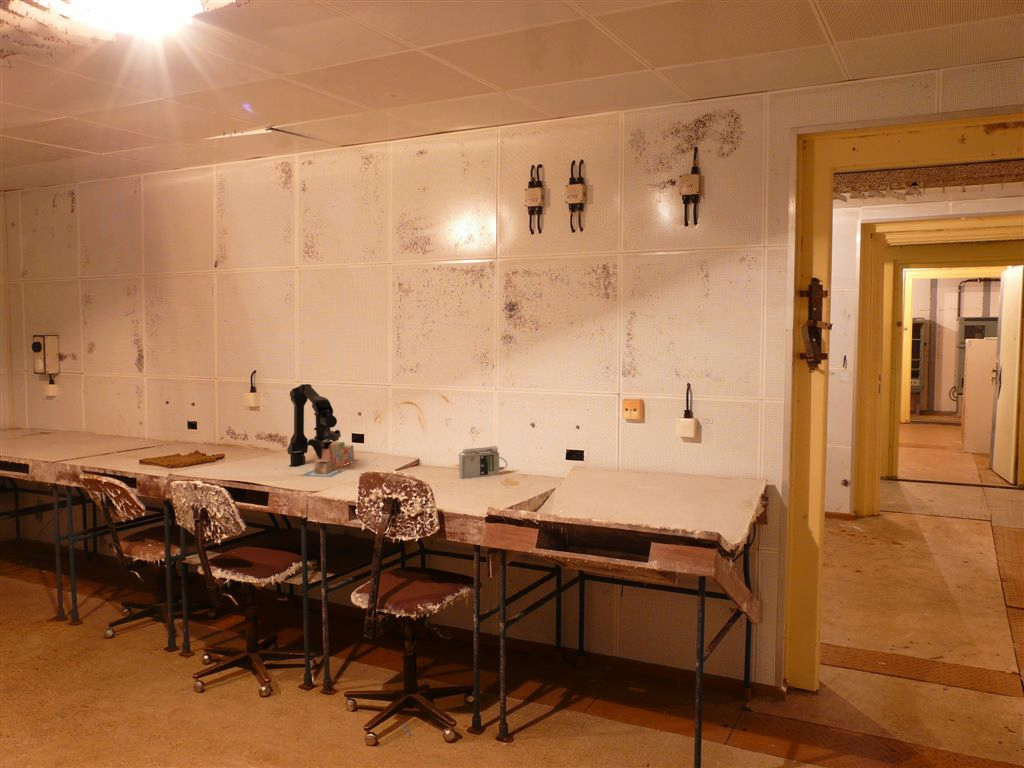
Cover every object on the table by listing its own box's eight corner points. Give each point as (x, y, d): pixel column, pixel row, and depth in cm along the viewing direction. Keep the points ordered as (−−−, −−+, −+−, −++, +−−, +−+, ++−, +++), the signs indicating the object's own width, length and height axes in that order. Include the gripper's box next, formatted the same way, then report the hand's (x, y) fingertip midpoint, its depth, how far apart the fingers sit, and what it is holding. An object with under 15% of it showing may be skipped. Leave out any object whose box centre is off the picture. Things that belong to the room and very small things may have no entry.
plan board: (299, 476, 373) (299, 475, 373) (315, 470, 388) (315, 469, 388) (331, 478, 369) (331, 476, 369) (345, 471, 385) (345, 470, 385)
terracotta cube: (315, 460, 376) (315, 450, 376) (320, 458, 381) (320, 448, 381) (325, 461, 375) (325, 450, 375) (329, 459, 380) (329, 448, 380)
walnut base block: (314, 473, 377) (314, 463, 376) (320, 471, 382) (320, 461, 382) (326, 474, 375) (325, 464, 375) (331, 472, 381) (331, 461, 381)
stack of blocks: (343, 462, 411) (343, 438, 410) (354, 462, 409) (353, 439, 408) (321, 469, 391) (320, 445, 389) (332, 470, 389) (332, 445, 388)
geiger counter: (461, 449, 364) (510, 445, 375) (456, 447, 369) (504, 443, 381) (462, 479, 365) (510, 474, 376) (456, 477, 370) (504, 472, 382)
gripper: (328, 428, 366) (329, 461, 367) (346, 423, 384) (346, 454, 386) (306, 428, 369) (307, 461, 370) (324, 422, 387) (325, 454, 388)
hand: (322, 457), depth 378 cm, fingers closed on terracotta cube, 5 cm apart
